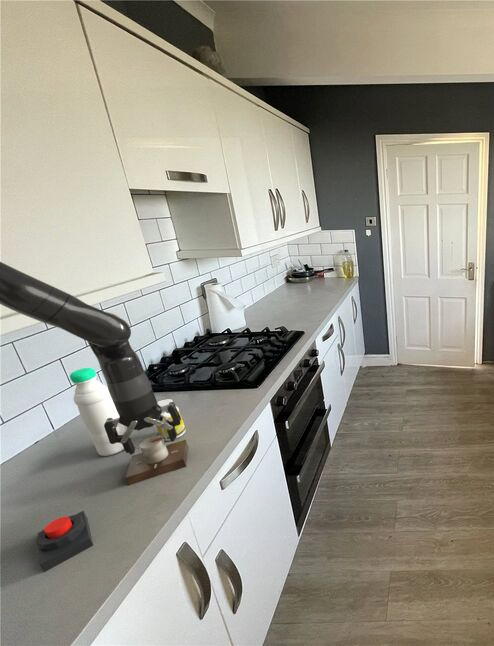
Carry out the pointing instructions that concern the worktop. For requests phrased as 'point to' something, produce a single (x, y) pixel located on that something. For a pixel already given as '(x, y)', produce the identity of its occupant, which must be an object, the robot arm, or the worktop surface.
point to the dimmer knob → (154, 449)
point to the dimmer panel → (145, 471)
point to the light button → (58, 527)
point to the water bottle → (96, 409)
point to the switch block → (65, 543)
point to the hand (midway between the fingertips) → (153, 445)
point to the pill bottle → (180, 428)
